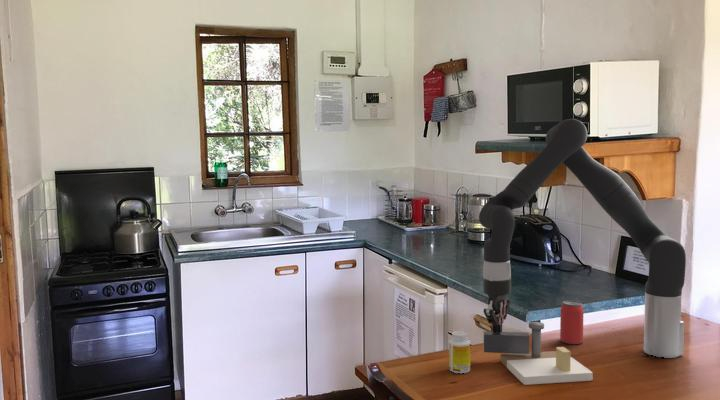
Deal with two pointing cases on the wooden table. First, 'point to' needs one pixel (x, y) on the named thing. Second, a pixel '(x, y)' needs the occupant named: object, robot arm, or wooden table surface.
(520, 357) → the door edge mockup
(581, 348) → the wooden table surface
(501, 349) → the block
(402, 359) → the wooden table surface
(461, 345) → the supplement bottle
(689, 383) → the wooden table surface
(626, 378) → the wooden table surface
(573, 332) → the beer can
